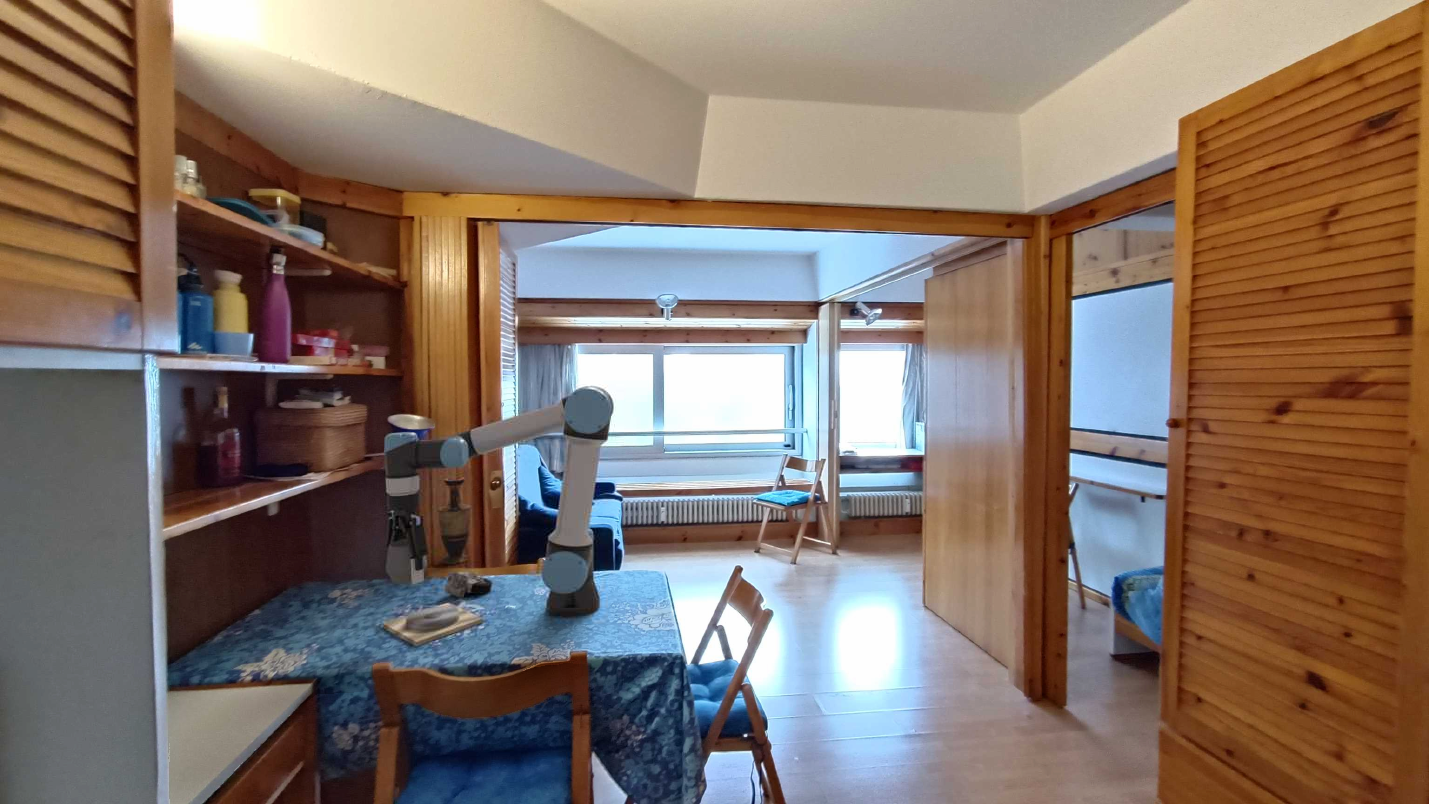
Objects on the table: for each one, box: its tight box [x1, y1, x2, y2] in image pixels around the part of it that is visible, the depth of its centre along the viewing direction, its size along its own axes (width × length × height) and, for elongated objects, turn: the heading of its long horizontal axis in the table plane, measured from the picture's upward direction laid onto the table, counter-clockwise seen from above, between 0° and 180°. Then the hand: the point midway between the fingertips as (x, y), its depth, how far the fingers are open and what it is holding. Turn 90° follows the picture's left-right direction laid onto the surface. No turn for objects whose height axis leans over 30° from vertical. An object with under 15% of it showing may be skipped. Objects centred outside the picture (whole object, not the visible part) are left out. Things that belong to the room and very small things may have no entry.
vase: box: [437, 477, 472, 565], centre depth 214 cm, size 11×11×30 cm
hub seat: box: [382, 602, 484, 647], centre depth 160 cm, size 18×18×3 cm
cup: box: [385, 538, 428, 585], centre depth 153 cm, size 10×9×10 cm
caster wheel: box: [444, 570, 493, 599], centre depth 184 cm, size 7×11×10 cm
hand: (407, 578), depth 154 cm, fingers closed on cup, 9 cm apart
